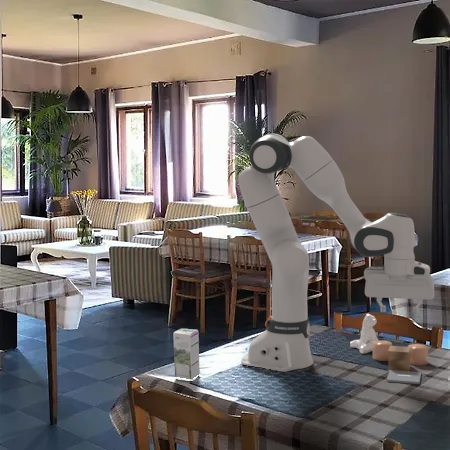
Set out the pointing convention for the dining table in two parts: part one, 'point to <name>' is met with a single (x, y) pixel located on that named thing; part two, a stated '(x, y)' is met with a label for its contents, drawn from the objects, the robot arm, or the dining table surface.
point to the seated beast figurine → (366, 335)
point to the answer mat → (404, 376)
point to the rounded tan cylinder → (381, 350)
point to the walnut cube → (399, 358)
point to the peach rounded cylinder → (418, 354)
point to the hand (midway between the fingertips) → (399, 312)
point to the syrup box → (186, 353)
